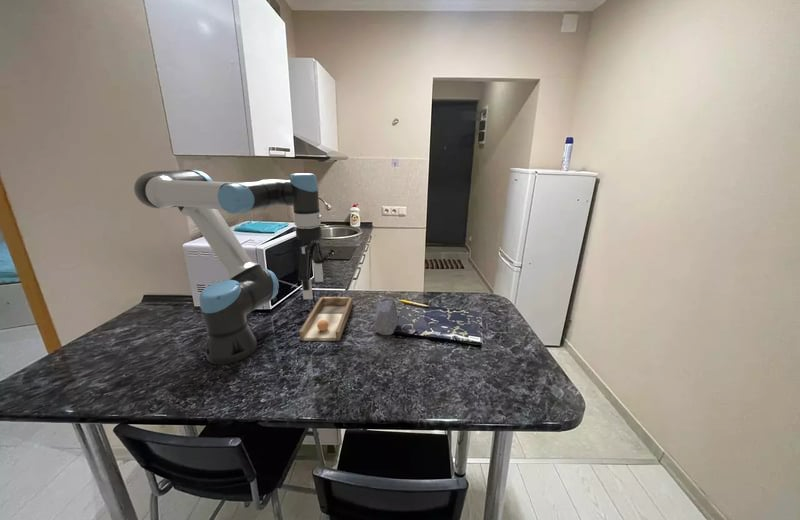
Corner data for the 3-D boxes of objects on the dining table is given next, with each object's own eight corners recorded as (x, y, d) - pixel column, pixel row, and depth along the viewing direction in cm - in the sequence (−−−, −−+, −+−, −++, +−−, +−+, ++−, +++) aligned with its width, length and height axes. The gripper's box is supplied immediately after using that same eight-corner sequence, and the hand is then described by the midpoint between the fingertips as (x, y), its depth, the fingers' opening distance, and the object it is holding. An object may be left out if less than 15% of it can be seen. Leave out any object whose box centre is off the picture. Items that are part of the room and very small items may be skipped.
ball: (316, 333, 110) (315, 323, 109) (319, 327, 114) (318, 317, 113) (327, 333, 110) (326, 323, 109) (330, 327, 114) (329, 317, 113)
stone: (379, 324, 121) (403, 319, 119) (375, 342, 113) (400, 337, 110) (368, 301, 116) (392, 295, 114) (363, 318, 107) (389, 312, 105)
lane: (300, 340, 108) (299, 331, 107) (321, 304, 134) (320, 297, 133) (339, 340, 108) (338, 331, 107) (352, 304, 134) (352, 297, 133)
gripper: (308, 236, 81) (315, 307, 88) (329, 218, 105) (333, 275, 112) (280, 236, 81) (289, 307, 88) (307, 217, 105) (312, 275, 112)
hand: (314, 289), depth 100 cm, fingers open, 13 cm apart
